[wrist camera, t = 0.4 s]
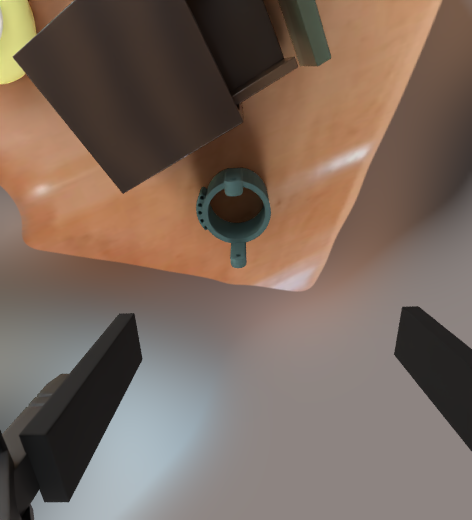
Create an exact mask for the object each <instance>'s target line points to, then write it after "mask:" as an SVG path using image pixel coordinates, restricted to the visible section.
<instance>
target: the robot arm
mask: <svg viewBox="0 0 472 520" xmlns="http://www.w3.org/2000/svg"><path fill="white" fill-rule="evenodd" d="M394 355H395V356H396V358H397V359H398V360H399V361H400V362H401V364H402V365H403V366H404V368H405V369H406V370H407V371H408V372H409V373H410V375H411V376H412V378H413V379H414V380H415V381H416V383H417V384H418V385H419V386H420V388H421V389H422V390H423V391H424V393H425V394H426V395H427V396H428V397H429V399H430V400H431V401H432V402H433V404H434V405H435V406H436V407H437V409H438V410H439V411H440V412H441V414H442V415H443V416H444V417H445V419H446V420H447V421H448V422H449V424H450V425H451V426H452V427H453V429H454V430H455V431H456V432H457V433H458V435H459V436H460V437H461V439H462V440H463V441H464V442H465V444H466V445H467V446H468V447H469V449H470V450H471V451H472V349H471V348H469V347H468V346H467V345H466V344H465V343H463V342H462V341H461V340H460V339H458V338H457V337H456V336H455V335H453V334H452V333H451V332H450V331H448V330H447V329H446V328H444V327H443V326H442V325H441V324H440V323H438V322H437V321H436V320H435V319H433V318H432V317H431V316H430V315H428V314H427V313H426V312H425V311H423V310H422V309H421V308H420V307H418V306H417V307H402V312H401V317H400V323H399V329H398V335H397V341H396V347H395V353H394ZM141 361H142V354H141V349H140V343H139V337H138V331H137V326H136V320H135V315H134V313H130V314H119V315H118V316H117V317H116V318H115V320H114V321H113V322H112V323H111V324H110V326H109V327H108V328H107V329H106V330H105V332H104V333H103V334H102V335H101V336H100V338H99V339H98V340H97V341H96V342H95V344H94V345H93V346H92V347H91V348H90V350H89V351H88V352H87V353H86V354H85V356H84V357H83V358H82V359H81V360H80V362H79V363H78V364H77V365H76V366H75V368H74V369H73V370H72V371H71V373H70V374H60V375H59V376H58V377H56V378H55V379H53V380H52V381H51V382H49V383H48V384H47V385H46V386H45V387H44V388H43V389H42V390H41V391H40V393H39V394H38V395H37V397H35V398H34V399H33V400H32V401H31V403H30V404H29V406H28V407H26V408H25V409H24V410H23V412H22V413H21V414H20V415H19V416H18V417H17V418H16V420H14V422H13V423H12V424H11V425H10V426H9V427H8V428H7V429H6V431H5V432H4V433H3V434H2V433H1V431H0V520H34V515H33V509H32V506H31V504H30V503H31V502H32V500H33V499H34V497H35V496H36V494H37V492H38V491H39V489H40V492H41V494H42V497H43V500H44V502H69V501H70V499H71V497H72V495H73V493H74V491H75V489H76V487H77V485H78V483H79V482H80V479H81V478H82V476H83V474H84V472H85V470H86V468H87V466H88V464H89V462H90V460H91V458H92V456H93V454H94V452H95V450H96V449H97V446H98V445H99V443H100V441H101V439H102V437H103V435H104V433H105V431H106V429H107V427H108V425H109V423H110V421H111V419H112V418H113V416H114V414H115V412H116V410H117V408H118V406H119V404H120V402H121V400H122V398H123V396H124V394H125V392H126V390H127V388H128V386H129V384H130V383H131V381H132V379H133V377H134V375H135V373H136V371H137V369H138V367H139V365H140V363H141Z"/></svg>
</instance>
